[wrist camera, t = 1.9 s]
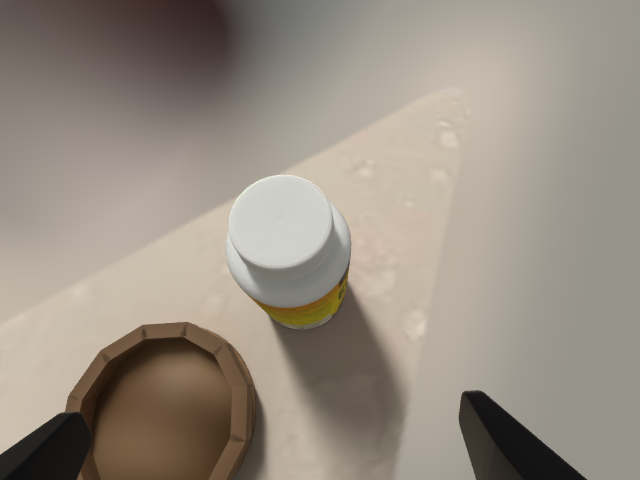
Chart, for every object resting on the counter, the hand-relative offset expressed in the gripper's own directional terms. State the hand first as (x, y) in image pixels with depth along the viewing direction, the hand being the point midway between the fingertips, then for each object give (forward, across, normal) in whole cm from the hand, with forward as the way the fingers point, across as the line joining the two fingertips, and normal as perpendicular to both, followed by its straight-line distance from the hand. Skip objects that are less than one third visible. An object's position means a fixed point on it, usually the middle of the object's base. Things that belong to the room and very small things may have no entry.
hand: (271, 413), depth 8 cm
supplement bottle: (+13, 0, +5) cm, 14 cm away
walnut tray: (+8, +8, +9) cm, 15 cm away
